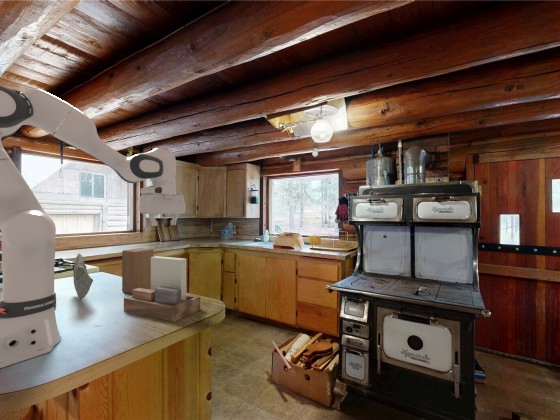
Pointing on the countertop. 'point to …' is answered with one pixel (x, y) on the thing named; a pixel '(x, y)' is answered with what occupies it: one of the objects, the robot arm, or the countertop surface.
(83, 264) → the rock
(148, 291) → the cedar offcut
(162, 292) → the charcoal offcut
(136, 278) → the wooden block
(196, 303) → the walnut tray
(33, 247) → the robot arm
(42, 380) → the countertop surface
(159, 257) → the white rectangular panel
